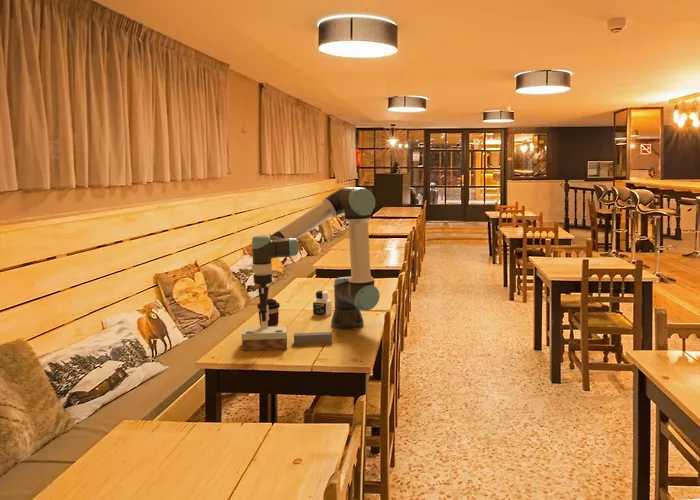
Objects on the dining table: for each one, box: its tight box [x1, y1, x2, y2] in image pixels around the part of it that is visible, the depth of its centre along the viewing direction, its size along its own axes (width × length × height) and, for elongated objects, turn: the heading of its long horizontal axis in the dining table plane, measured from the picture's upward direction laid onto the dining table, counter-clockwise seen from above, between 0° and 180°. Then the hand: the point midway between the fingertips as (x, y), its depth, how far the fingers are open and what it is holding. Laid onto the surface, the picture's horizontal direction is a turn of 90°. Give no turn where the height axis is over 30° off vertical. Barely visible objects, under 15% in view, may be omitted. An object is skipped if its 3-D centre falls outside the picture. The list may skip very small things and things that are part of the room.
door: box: [241, 326, 288, 341], centre depth 265 cm, size 18×10×4 cm, turn 95°
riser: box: [293, 331, 333, 346], centre depth 271 cm, size 16×4×4 cm, turn 95°
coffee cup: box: [256, 298, 281, 327], centre depth 288 cm, size 10×10×15 cm
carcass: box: [241, 330, 288, 352], centre depth 268 cm, size 18×12×8 cm
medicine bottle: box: [312, 290, 333, 318], centre depth 321 cm, size 7×7×12 cm
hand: (265, 324), depth 264 cm, fingers open, 13 cm apart
